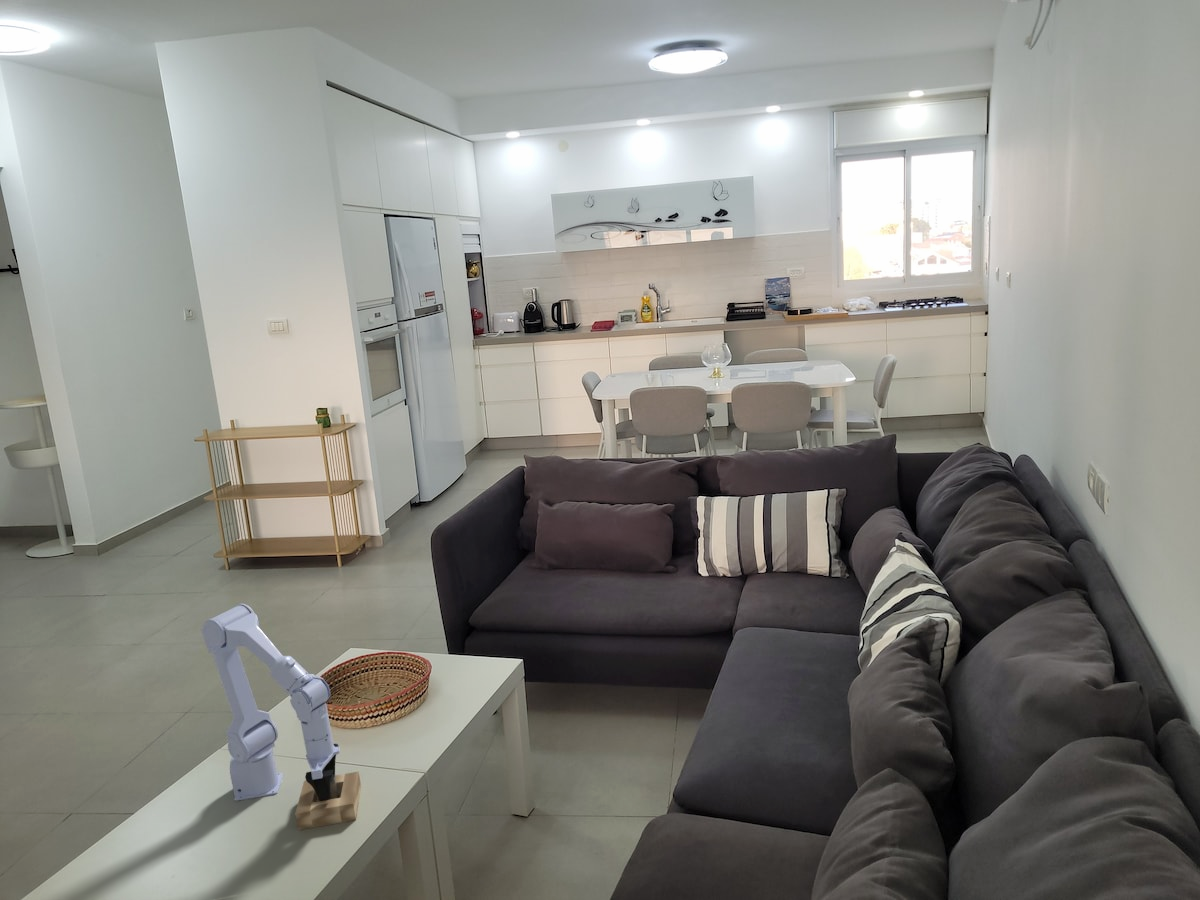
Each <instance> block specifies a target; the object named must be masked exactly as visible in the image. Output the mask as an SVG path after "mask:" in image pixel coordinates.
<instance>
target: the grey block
mask: <svg viewBox="0 0 1200 900" xmlns="http://www.w3.org/2000/svg"><path fill="white" fill-rule="evenodd" d="M335 775H336V773H335V774H334V775H332V777H331V796H330V799H336V798H340V795H339V793H338V788H337V782H336V777H335ZM319 801H320V800H319Z"/></svg>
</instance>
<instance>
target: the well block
mask: <svg viewBox="0 0 1200 900" xmlns="http://www.w3.org/2000/svg"><path fill="white" fill-rule="evenodd" d="M335 777H336V782H337V788H338V793H339V795H340V798H336V799H330V800H325V801H319V798H318V796H317V794H316V792H315V790H314V789H313V787H312V786H311V785H310V784H309V783H308V782H307V781H306V780H303V782H302V787H301V790H300V795H299V799H298V802H297V806H296V809H295V813H294V814H295V820H296V823H297V829H298V831H299V830H308V829H311V828H312V829H313V828H317V827H323V826H324V827H325V826H329V825H335V824H339V823H345V822H353V821H357V816H358V810H359V803H360V798H361V791H362V783H361V778H360V773H359V771H355V772H347V773H342V774H338V775H337V774H335Z"/></svg>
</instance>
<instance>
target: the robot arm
mask: <svg viewBox="0 0 1200 900" xmlns="http://www.w3.org/2000/svg"><path fill="white" fill-rule="evenodd" d="M200 631H201V634H202V637H203V639H204V644H206V649H207V651H208V653H209V654H211V655H212V658H213V662H214V664H215V667H216V671H217V672H218V675H219V679H220V682H221V685H222V688H223V690H224V694H225V696H226V700H227V702H228V706H229V708H230V711H231V715H232V717H233V718H232V720H231V722H230V724H229V726H228V728H227V730H226V732H225V734H226V737H227V749H228V752H229V755H230V756H231V758H230V762H229V774H230V781H231V784H232V785H231V786H232V789H233V793H234V794H233V796H234V798H233V799H234V801H235V802H237V801H244V800H249V799H254V798H255V799H256V798H259V797H261V798H262V797H266V796H273V795H277V794H278V792H279V789H280V787H281V783H282V779H283V777H284V773H283V772H278V770H277V764H276V759H275V756H274V748H275V747H276V746H275V745H276V744H275V742H276V741H277V740H278V737H279V734H278V733H279V730H278V727H277V726H276V724H275V723H274V721H273V720H272V718H271V715H270V713H269V712H267V711H266V710H265V711H264V710H259V709H258V706H257V704H256V700H255V697H254V695H253V692H252V689H251V686H250V682H249V679H248V677H247V674H246V671H245V667H244V663H243V662H242V657H241V656H240V652H239V649H238V647H245V648H246V649H247V650H248V651H249V652H251V653H252V654H253V655H254V656H255V657H257V658H258V659H259V660H260V661H261V662H263V663H264V664H265V665H266V666H268V667H269V676H270V678H272V679H273V681H275V682H276V684H278V686H280V687H281V689H283V691H284V692H285V693H287V695H288V696H289V697H290V699H289V701H290V704H291V707H292V708H293V710H294V711H295V713H296V718H297V719H298V721H300V725H301V730H302V736H303V741H304V748H305V753H306V755H305V757H306V761H307V763H308V765H309V767H310V769H311V771H306V773H305V778H304V779H305V781H307V782H308V783H309V784H310V785H311V786H312V787H313V789H314V790H315V792H316V794H317V796H318V798H319V800H320V801H325V800H330V796H331V777H332V775H334V774H335V775H336V757H337V755H339V754H340V753H341V747H340V746H339V744H338V743H334V740H333V734H332V729H331V727H332V726H331V723H330V718H329V710H328V707H327V701H328V700H329V699H330V698H331V689H330V686H329V684H328V683H327V681H325V679H324V678H323V677H321V676H319V675H315V674H314V673H309V672H308V671H307V670H306V669H305V668H304V667H302V665H301V664H299V662H298V661H296V659H295V658H293V656H291V655H283V653H281V652H280V650H279V649H278V648H277V646H275V644H274V643H273V642H272V641H271V640H270V638H268V636H267V635H266V634H265V633H264V631H263V630H262V629H261V628H260V622H259V618H258V615H257V614H256V613H255V611H254V610H253V609H252V607H250V606H249V605H248V604H245V603H239V604H237V605H236V606H234V607H232V608H230V609H228V610H225V611H224V612H222V613H220V614H218V615H216V616H214V617H212V618H209V619H207V620H205V621H204V624H203V625H202V626H201V628H200Z"/></svg>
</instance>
